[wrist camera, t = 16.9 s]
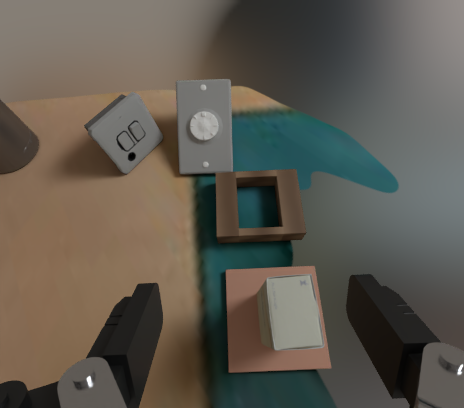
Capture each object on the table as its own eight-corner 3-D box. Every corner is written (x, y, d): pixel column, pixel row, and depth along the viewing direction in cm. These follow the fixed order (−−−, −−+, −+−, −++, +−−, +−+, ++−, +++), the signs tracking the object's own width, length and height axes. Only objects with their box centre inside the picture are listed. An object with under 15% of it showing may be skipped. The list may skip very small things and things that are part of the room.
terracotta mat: (229, 371, 34) (228, 372, 33) (226, 271, 39) (225, 269, 38) (329, 367, 34) (331, 368, 33) (313, 267, 39) (314, 265, 38)
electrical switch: (126, 177, 46) (96, 138, 37) (105, 163, 47) (73, 122, 39) (165, 139, 49) (146, 95, 41) (144, 127, 51) (122, 83, 42)
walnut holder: (218, 243, 40) (216, 236, 38) (217, 182, 45) (215, 172, 42) (301, 239, 40) (306, 232, 38) (292, 179, 45) (296, 169, 42)
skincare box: (256, 292, 37) (263, 274, 26) (289, 290, 37) (312, 270, 26) (261, 346, 34) (272, 351, 23) (297, 344, 34) (326, 348, 23)
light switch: (177, 173, 44) (174, 77, 43) (184, 175, 50) (181, 91, 49) (232, 172, 44) (230, 76, 43) (233, 174, 49) (230, 89, 49)
